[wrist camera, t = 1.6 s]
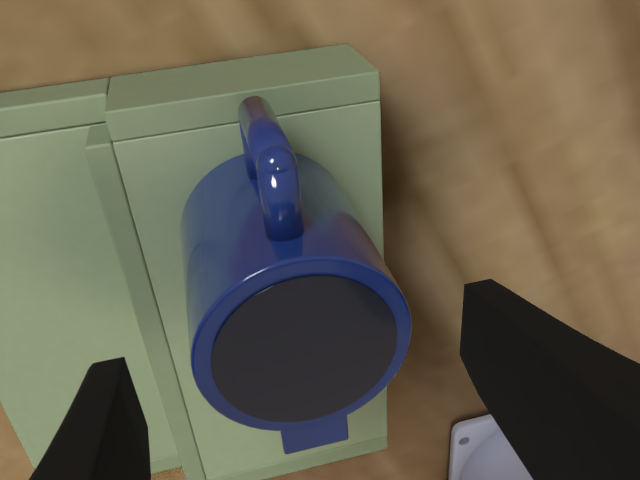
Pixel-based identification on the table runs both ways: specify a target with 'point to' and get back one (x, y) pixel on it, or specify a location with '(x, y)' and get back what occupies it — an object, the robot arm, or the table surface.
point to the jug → (286, 292)
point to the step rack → (157, 240)
